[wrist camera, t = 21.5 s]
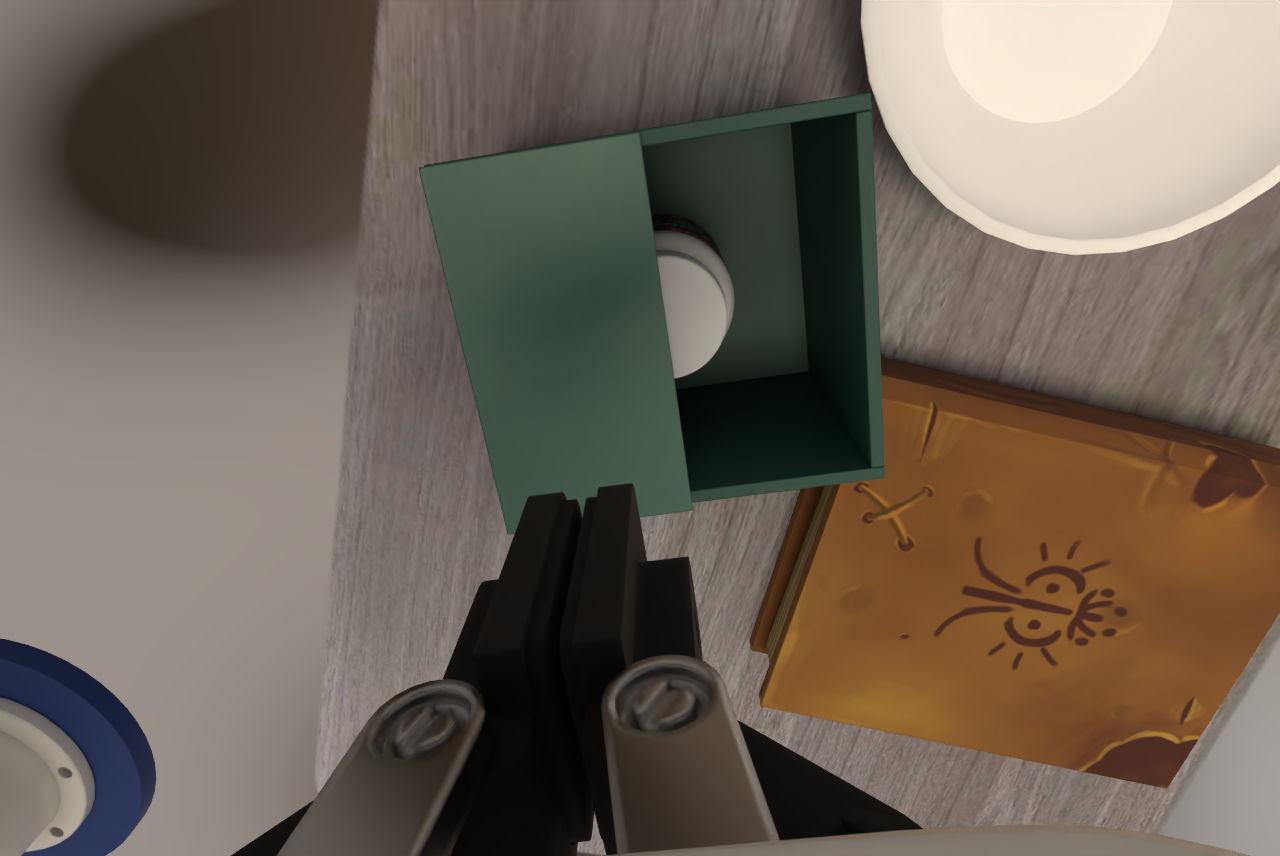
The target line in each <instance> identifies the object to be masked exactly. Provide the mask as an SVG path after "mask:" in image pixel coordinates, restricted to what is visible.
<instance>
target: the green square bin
mask: <svg viewBox="0 0 1280 856" xmlns="http://www.w3.org/2000/svg"><path fill="white" fill-rule="evenodd" d="M871 108H872V105H871V93H863V94H857V95H851V96H845V97H839V98H833V99H827V100H820V101H814V102H808V103H802V104H796V105H790V106H784V107H778V108H771V109H765V110H759V111H753V112H747V113H741V114H735V115H729V116H722V117H716V118H710V119H704V120H698V121H692V122H686V123H680V124H673V125H667V126H661V127H655V128H649V129H643V130H637V131H631V132H624V133H618V134H612V135H606V136H600V137H594V138H588V139H582V140H575V141H569V142H563V143H557V144H551V145H545V146H539V147H533V148H526V149H520V150H514V151H508V152H502V153H496V154H490V155H484V156H477V157H471V158H465V159H459V160H453V161H447V162H441V163H435V164H428V165H424V167H426V166H432V165H438V164H444V163H450V162H456V161H462V160H469V159H475V158H481V157H487V156H493V155H499V154H505V153H511V152H518V151H524V150H530V149H536V148H542V147H548V146H554V145H561V144H567V143H573V142H579V141H585V140H591V139H597V138H604V137H610V136H616V135H622V134H628V133H634V132H639V133H640V138H641V145H642V152H643V159H644V167H645V174H646V181H647V188H648V195H649V202H650V209H651V216H654V215H675V216H679V217H683V218H686V219H688V220H690V221H692V222H694V223H696V224H697V225H699V226H700V227H701V228H703V229H704V230H705V231H706V232H707V233H708V234H709V235H710V237H711V238H712V239H713V240H714V242H715V244H716V245H717V247H718V249H719V251H720V253H721V256H722V258H723V260H724V262H725V264H726V266H727V268H728V271H729V274H730V276H731V279H732V283H733V288H734V298H735V303H734V313H733V317H732V321H731V324H730V327H729V329H728V331H727V333H726V335H725V337H724V338H723V341H722V343H721V345H720V347H719V348H718V350H717V352H716V353H715V354H714V356H713V357H712V358H711V359H710V360H709V361H708V362H707V363H706V364H705V365H704V366H702V367H701V368H700V369H698V370H696V371H694V372H693V373H691V374H688V375H686V376H683V377H679V378H674V379H675V386H676V393H677V400H678V408H679V415H680V422H681V429H682V436H683V443H684V450H685V457H686V464H687V471H688V478H689V485H690V493H691V500H692V503H693V502H701V501H709V500H717V499H725V498H733V497H741V496H749V495H757V494H765V493H773V492H781V491H789V490H797V489H805V488H813V487H821V486H829V485H837V484H844V483H852V482H860V481H868V480H876V479H884V478H885V467H884V465H885V460H884V433H883V406H882V378H881V351H880V324H879V296H878V269H877V242H876V214H875V187H874V160H873V132H872V112H871V111H870V110H871Z"/></svg>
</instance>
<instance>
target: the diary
mask: <svg viewBox="0 0 1280 856" xmlns="http://www.w3.org/2000/svg"><path fill="white" fill-rule="evenodd" d="M881 378H882V406H883V433H884V460H885V465H884V467H885V478H884V479H876V480H868V481H860V482H852V483H844V484H837V485H829V486H821V487H813V488H805V489H801V491H800V494H799V497H798V500H797V503H796V506H795V509H794V512H793V515H792V518H791V521H790V524H789V526H788V529H787V532H786V535H785V538H784V541H783V544H782V547H781V550H780V553H779V556H778V559H777V562H776V565H775V568H774V571H773V574H772V577H771V580H770V583H769V586H768V589H767V592H766V595H765V598H764V601H763V604H762V607H761V610H760V612H759V615H758V618H757V621H756V624H755V627H754V630H753V633H752V636H751V639H750V644H751V650H752V651H757V652H762V653H767V654H768V658H769V663H770V665H769V668H768V670H767V673H766V676H765V679H764V682H763V685H762V687H761V690H760V693H759V698H760V704H761V706H762V707H767V708H772V709H777V710H782V711H786V712H791V713H796V714H801V715H806V716H811V717H816V718H821V719H826V720H831V721H836V722H841V723H846V724H851V725H856V726H860V727H865V728H870V729H875V730H880V731H885V732H890V733H895V734H900V735H905V736H910V737H915V738H920V739H925V740H930V741H934V742H939V743H944V744H949V745H954V746H959V747H964V748H969V749H974V750H979V751H984V752H989V753H994V754H999V755H1004V756H1008V757H1013V758H1018V759H1023V760H1028V761H1033V762H1038V763H1043V764H1048V765H1053V766H1058V767H1063V768H1068V769H1073V770H1078V771H1082V772H1087V773H1092V774H1097V775H1102V776H1107V777H1112V778H1117V779H1122V780H1127V781H1132V782H1137V783H1142V784H1147V785H1152V786H1156V787H1161V788H1166V789H1167V788H1168V786H1169V784H1170V783H1171V781H1172V780H1173V778H1174V777H1175V775H1176V774H1177V772H1178V770H1179V769H1180V767H1181V766H1182V764H1183V763H1184V761H1185V760H1186V758H1187V756H1188V755H1189V753H1190V752H1191V750H1192V749H1193V747H1194V746H1195V744H1196V742H1197V741H1198V739H1199V738H1200V736H1201V735H1202V733H1203V732H1204V730H1205V728H1206V727H1207V725H1208V724H1209V722H1210V721H1211V719H1212V718H1213V716H1214V714H1215V713H1216V711H1217V710H1218V708H1219V707H1220V705H1221V704H1222V702H1223V700H1224V699H1225V697H1226V696H1227V694H1228V693H1229V691H1230V690H1231V688H1232V686H1233V685H1234V683H1235V682H1236V680H1237V679H1238V677H1239V676H1240V674H1241V672H1242V671H1243V669H1244V668H1245V666H1246V665H1247V663H1248V662H1249V660H1250V658H1251V657H1252V655H1253V654H1254V652H1255V651H1256V649H1257V648H1258V646H1259V644H1260V643H1261V641H1262V640H1263V638H1264V637H1265V635H1266V634H1267V632H1268V630H1269V629H1270V627H1271V626H1272V624H1273V623H1274V621H1275V620H1276V618H1277V616H1278V615H1279V613H1280V449H1279V448H1275V447H1270V446H1266V445H1262V444H1257V443H1253V442H1249V441H1244V440H1240V439H1236V438H1231V437H1227V436H1222V435H1218V434H1214V433H1209V432H1205V431H1201V430H1196V429H1192V428H1188V427H1183V426H1179V425H1174V424H1170V423H1166V422H1161V421H1157V420H1153V419H1148V418H1144V417H1139V416H1135V415H1131V414H1126V413H1122V412H1118V411H1113V410H1109V409H1105V408H1100V407H1096V406H1091V405H1087V404H1083V403H1078V402H1074V401H1070V400H1065V399H1061V398H1057V397H1052V396H1048V395H1043V394H1039V393H1035V392H1030V391H1026V390H1022V389H1017V388H1013V387H1009V386H1004V385H1000V384H995V383H991V382H987V381H982V380H978V379H974V378H969V377H965V376H961V375H956V374H952V373H947V372H943V371H939V370H934V369H930V368H926V367H921V366H917V365H912V364H908V363H904V362H899V361H895V360H891V359H886V358H882V357H881Z"/></svg>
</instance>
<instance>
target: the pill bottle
mask: <svg viewBox="0 0 1280 856" xmlns="http://www.w3.org/2000/svg"><path fill="white" fill-rule="evenodd" d="M652 223H653V230H654V237H655V244H656V252H657V259H658V266H659V273H660V280H661V287H662V294H663V301H664V308H665V315H666V322H667V330H668V337H669V344H670V351H671V358H672V365H673V372H674V378H679V377H683V376H686V375H688V374H691V373H693V372H694V371H696V370H698V369H700V368H701V367H702V366H704V365H705V364H706V363H707V362H708V361H709V360H710V359H711V358H712V357H713V356H714V354H715V353H716V352H717V350H718V348H719V347H720V345H721V343H722V341H723V338H724V337H725V335H726V333H727V331H728V329H729V327H730V324H731V321H732V317H733V313H734V303H735V298H734V288H733V283H732V279H731V276H730V274H729V271H728V268H727V266H726V264H725V262H724V260H723V258H722V256H721V253H720V251H719V249H718V247H717V245H716V244H715V242H714V240H713V239H712V238H711V237H710V235H709V234H708V233H707V232H706V231H705V230H704V229H703V228H701V227H700V226H699V225H697V224H696V223H694V222H692V221H690V220H688V219H686V218H683V217H679V216H675V215H654V216H652Z"/></svg>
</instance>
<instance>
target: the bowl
mask: <svg viewBox="0 0 1280 856" xmlns="http://www.w3.org/2000/svg"><path fill="white" fill-rule="evenodd" d="M861 32H862V39H863V46H864V53H865V60H866V67H867V74H868V80H869V83H870V86H871V89H872V92H873V95H874V98H875V100H876V103H877V106H878V109H879V112H880V115H881V118H882V121H883V123H884V126H885V129H886V130H887V132H888V134H889V135H890V137H891V139H892V140H893V142H894V144H895V145H896V147H897V149H898V150H899V152H900V154H901V155H902V157H903V159H904V160H905V162H906V164H907V165H908V167H909V168H910V170H911V171H912V173H913V174H914V175H915V176H916V177H917V178H918V179H919V180H920V181H921V182H922V183H923V184H924V185H925V186H926V187H927V188H928V189H929V190H930V192H931V193H932V194H933V195H934V196H935V197H936V198H937V199H938V200H939V201H940V202H941V203H942V204H943V205H944V206H945V207H946V208H948V209H949V210H951V211H952V212H954V213H955V214H957V215H958V216H960V217H961V218H963V219H964V220H966V221H968V222H969V223H971V224H972V225H974V226H975V227H977V228H978V229H980V230H981V231H983V232H985V233H987V234H990V235H993V236H995V237H998V238H1001V239H1004V240H1006V241H1009V242H1012V243H1014V244H1017V245H1020V246H1022V247H1025V248H1028V249H1036V250H1043V251H1050V252H1057V253H1064V254H1071V255H1082V254H1099V253H1115V252H1126V251H1130V250H1134V249H1138V248H1142V247H1146V246H1150V245H1154V244H1158V243H1162V242H1166V241H1170V240H1174V239H1176V238H1179V237H1181V236H1183V235H1185V234H1188V233H1190V232H1192V231H1195V230H1197V229H1199V228H1201V227H1204V226H1206V225H1208V224H1211V223H1213V222H1215V221H1217V220H1220V219H1222V218H1224V217H1226V216H1228V215H1229V214H1231V213H1232V212H1234V211H1235V210H1237V209H1239V208H1240V207H1242V206H1243V205H1245V204H1246V203H1248V202H1249V201H1251V200H1253V199H1254V198H1256V197H1257V196H1259V195H1260V194H1262V193H1264V192H1265V191H1267V190H1268V189H1270V188H1271V187H1273V186H1274V185H1275V184H1277V183H1278V182H1279V181H1280V0H861Z"/></svg>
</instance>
